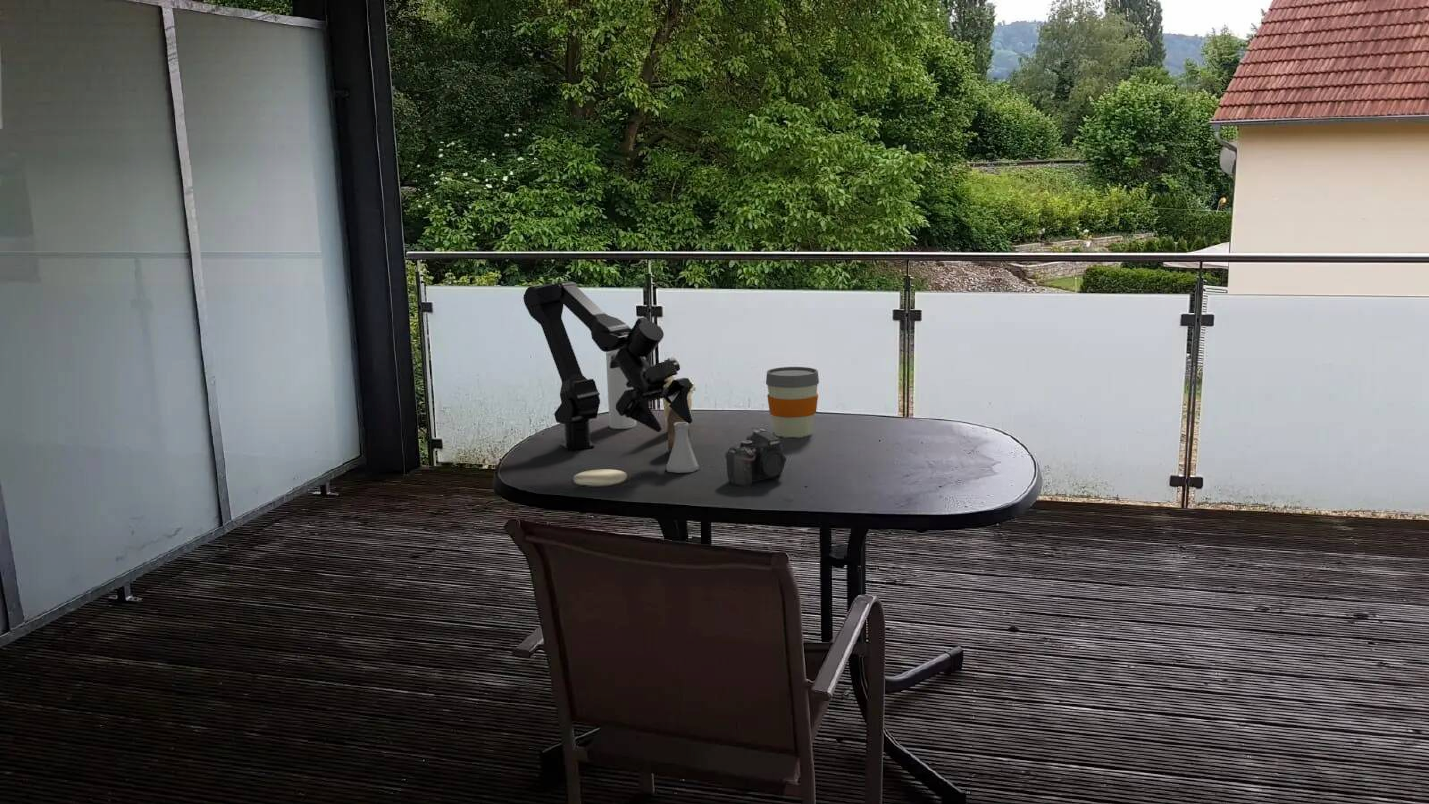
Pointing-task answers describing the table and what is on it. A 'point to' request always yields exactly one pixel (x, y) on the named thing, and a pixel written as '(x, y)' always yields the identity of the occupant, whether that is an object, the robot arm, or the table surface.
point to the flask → (682, 451)
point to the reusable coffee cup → (792, 400)
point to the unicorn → (666, 404)
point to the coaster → (600, 477)
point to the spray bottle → (616, 395)
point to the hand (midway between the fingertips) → (675, 426)
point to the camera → (755, 459)
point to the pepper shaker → (673, 428)
